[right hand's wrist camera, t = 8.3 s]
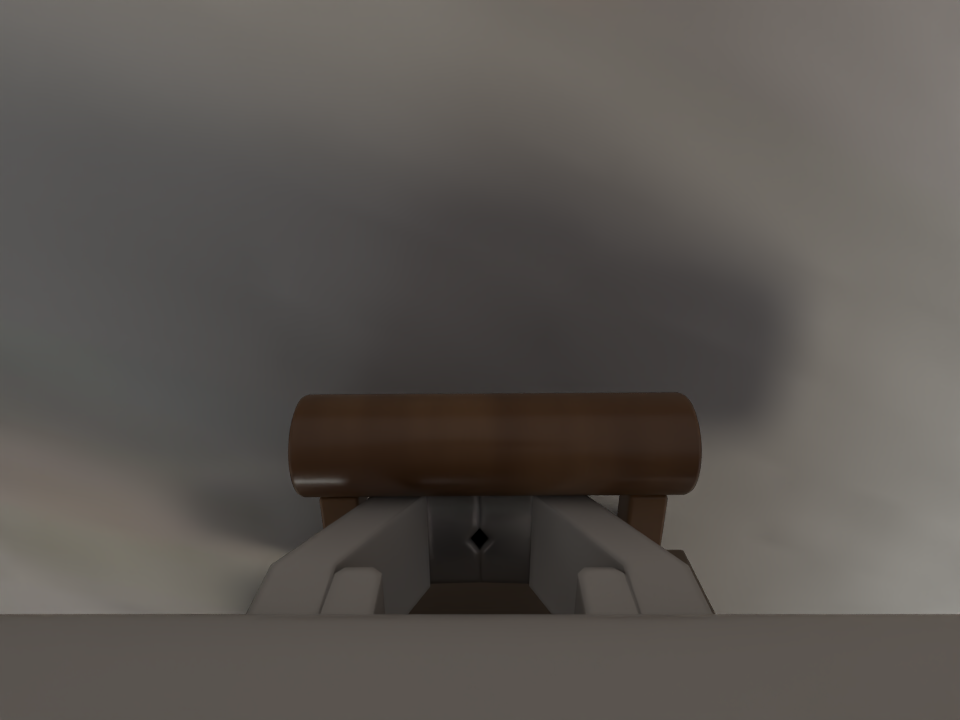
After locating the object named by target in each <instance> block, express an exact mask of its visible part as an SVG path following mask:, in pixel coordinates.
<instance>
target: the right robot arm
mask: <svg viewBox="0 0 960 720" xmlns="http://www.w3.org/2000/svg"><path fill="white" fill-rule="evenodd" d="M476 582H481V583H518V584H529V586H530V588H531V589H532V590H533V591H534V593H535V594H536V595H537V596H538V598H539V599H540V600H541V601H542V603H543V604H544V605H545V606H546V608H547V609H548V610H549V611H550V613H551V614H409V612H410V611H411V610H412V609H413V607H414V606H415V605H416V604H417V602H418V601H419V600H420V599H421V597H422V596H423V595H424V594H425V592H426V591H427V590H428V589H429V588H430V584H441V583H476ZM0 720H960V614H713V613H712V611H711V609H710V607H709V605H708V603H707V601H706V599H705V597H704V595H703V593H702V591H701V589H700V587H699V585H698V583H697V581H696V579H695V577H694V575H693V573H692V571H691V569H690V567H689V565H687V564H686V563H684V562H683V561H681V560H680V559H678V558H677V557H675V556H674V555H673V554H671V553H670V552H668V551H667V550H665V549H664V548H662V547H661V546H659V545H658V544H657V543H655V542H654V541H652V540H651V539H649V538H648V537H646V536H645V535H643V534H642V533H641V532H639V531H638V530H636V529H635V528H633V527H632V526H630V525H629V524H627V523H626V522H625V521H623V520H622V519H620V518H619V517H617V516H616V515H614V514H613V513H611V512H610V511H608V510H607V509H606V508H604V507H603V506H601V505H600V504H598V503H597V502H595V501H594V500H592V499H591V498H590V497H588V496H587V495H569V496H411V497H370V498H368V499H367V500H365V501H364V502H363V503H361V504H360V505H358V506H357V507H355V508H354V509H352V510H351V511H349V512H348V513H346V514H345V515H343V516H342V517H341V518H339V519H338V520H336V521H335V522H333V523H332V524H330V525H329V526H327V527H326V528H324V529H323V530H321V531H320V532H319V533H317V534H316V535H314V536H313V537H311V538H310V539H308V540H307V541H305V542H304V543H302V544H301V545H299V546H298V547H297V548H295V549H294V550H292V551H291V552H289V553H288V554H286V555H285V556H283V557H282V558H280V559H279V560H277V561H276V562H275V563H273V564H272V565H271V566H270V568H269V570H268V572H267V574H266V576H265V578H264V580H263V582H262V584H261V586H260V588H259V590H258V592H257V594H256V596H255V598H254V600H253V601H252V603H251V605H250V607H249V609H248V611H247V613H246V614H0Z"/></svg>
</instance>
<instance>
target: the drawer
mask: <svg viewBox="0 0 960 720" xmlns="http://www.w3.org/2000/svg"><path fill="white" fill-rule="evenodd" d="M701 458H702V446H701V435H700V428H699V423H698V419H697V416H696V413H695V410H694V408H693V405H692V404H691V402H690V400H689V399H688V398H687V397H686V396H685V395H683V394H681V393H678V392H639V393H473V394H309V395H307V396H304V397H303V398H301V400H300V401H299V402H298V404H297V406H296V408H295V411H294V414H293V418H292V422H291V426H290V433H289V443H288V461H289V470H290V476H291V480H292V484H293V487H294V489H295V491H296V492H297V493H298V494H299V495H301V496H303V497H320V508H321V515H322V522H323V529H324V528H326V527H327V526H329V525H330V524H332V523H333V522H335V521H336V520H338V519H339V518H341V517H342V516H343V515H345V514H346V513H348V512H349V511H351V510H352V509H354V508H355V507H357V506H358V505H360V504H361V503H363V502H364V501H365V500H367V497H411V496H569V495H620V496H619V505H618V514H617V517H619V518H620V519H622V520H623V521H625V522H626V523H627V524H629V525H630V526H632V527H633V528H635V529H636V530H638V531H639V532H641V533H642V534H643V535H645V536H646V537H648V538H649V539H651V540H652V541H654V542H655V543H657V544H658V545H659V546H661V540H662V533H663V526H664V519H665V513H666V506H667V499H668V498H667V495H684V494H687V493H689V492H691V491H692V490H693V489H694V487H695V485H696V483H697V481H698V477H699V473H700V468H701ZM667 551H668V552H670V553H671V554H673V555H674V556H675V557H677V558H678V559H680V560H681V561H683V562H684V563H686V564H687V565H689V567H690V569H691V571H692V573H693V575H694V577H695V579H696V581H697V583H698V585H699V587H700V589H701V591H702V593H703V595H704V597H705V599H706V601H707V603H708V605H709V607H710V609H711V611H712V613H713V614H715V612H714V610H713V608H712V606H711V604H710V603H709V601H708V599H707V597H706V595H705V593H704V591H703V589H702V587H701V585H700V583H699V581H698V579H697V577H696V575H695V573H694V571H693V569H692V567H691V565H690V563H689V561H688V559H687V557H686V555H685V553H684V551H683V550H667ZM409 614H551V613H550V611H549V610H548V609H547V608H546V606H545V605H544V604H543V603H542V601H541V600H540V599H539V598H538V596H537V595H536V594H535V593H534V591H533V590H532V589H531V588H530V586H529V584H518V583H481V582H476V583H441V584H430V588H429V589H428V590H427V591H426V592H425V594H424V595H423V596H422V597H421V599H420V600H419V601H418V602H417V604H416V605H415V606H414V607H413V609H412V610H411V611H410V612H409Z"/></svg>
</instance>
